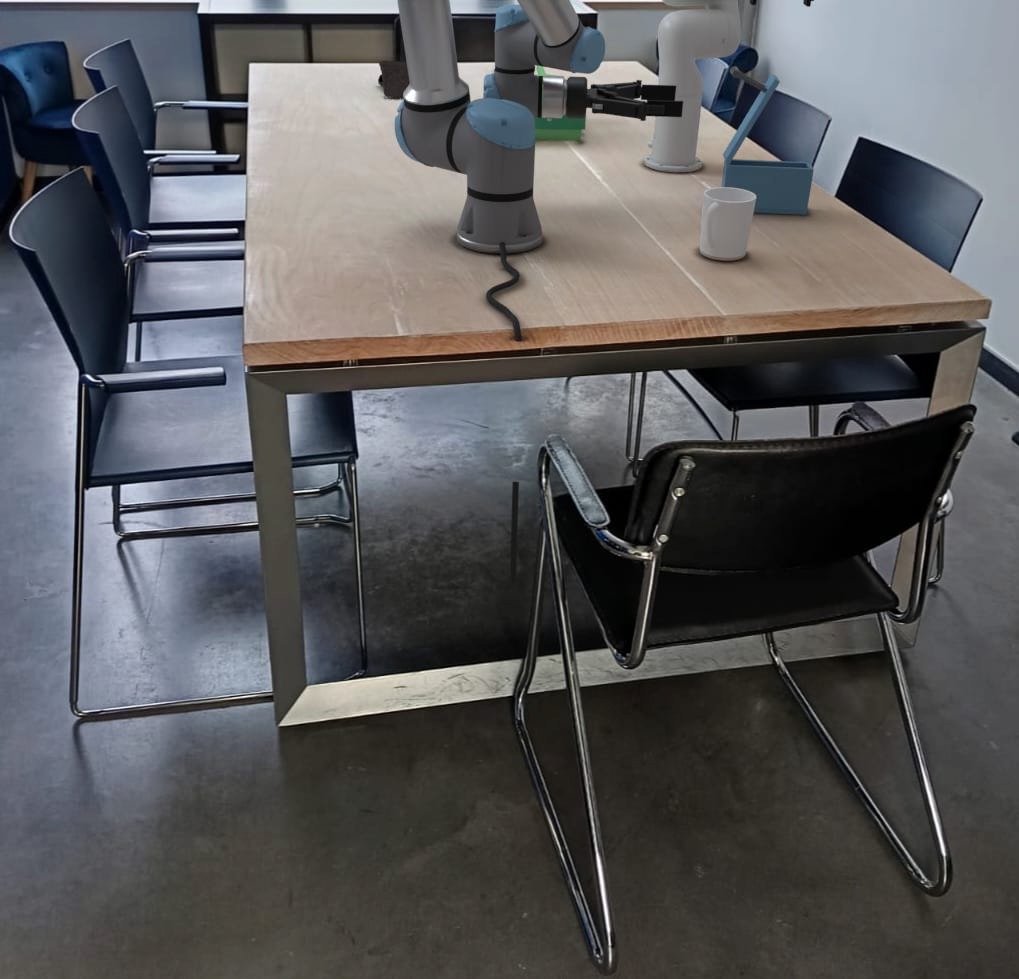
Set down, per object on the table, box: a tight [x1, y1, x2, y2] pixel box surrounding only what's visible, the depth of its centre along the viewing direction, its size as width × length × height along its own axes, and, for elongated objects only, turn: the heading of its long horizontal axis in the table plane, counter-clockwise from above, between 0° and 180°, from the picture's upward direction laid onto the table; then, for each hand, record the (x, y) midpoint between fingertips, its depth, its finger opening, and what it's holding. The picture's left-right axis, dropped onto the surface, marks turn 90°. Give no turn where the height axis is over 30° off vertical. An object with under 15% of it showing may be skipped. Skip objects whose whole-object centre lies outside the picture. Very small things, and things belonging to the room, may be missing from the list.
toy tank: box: [534, 65, 587, 142], centre depth 266 cm, size 18×12×35 cm
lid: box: [722, 65, 780, 164], centre depth 206 cm, size 17×5×8 cm
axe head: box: [377, 59, 410, 99], centre depth 299 cm, size 18×8×15 cm
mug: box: [699, 186, 756, 262], centre depth 189 cm, size 11×9×10 cm
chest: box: [720, 158, 815, 216], centre depth 213 cm, size 16×5×9 cm, turn 85°
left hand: (679, 100), depth 205 cm, fingers open, 13 cm apart
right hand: (779, 4), depth 196 cm, fingers open, 9 cm apart
